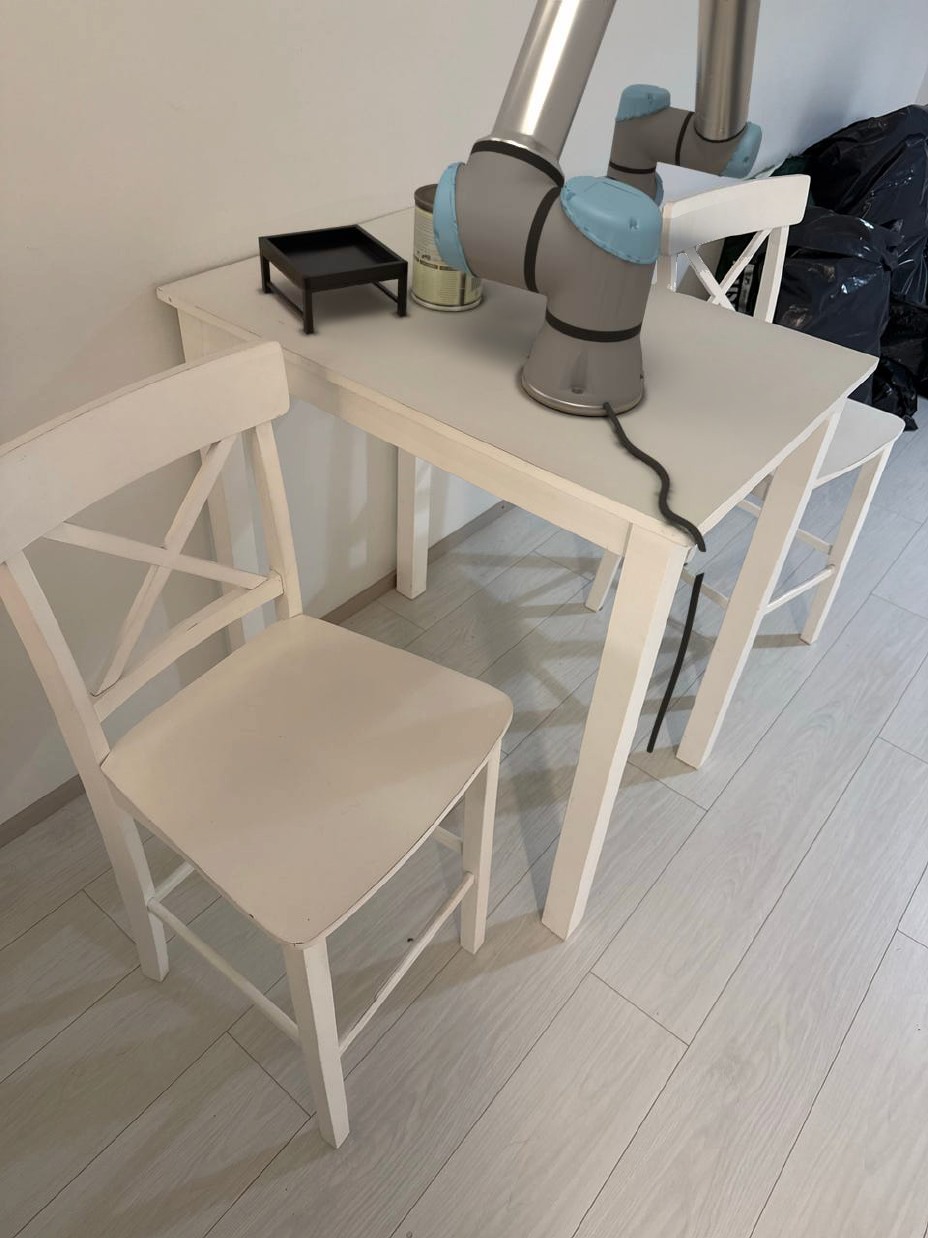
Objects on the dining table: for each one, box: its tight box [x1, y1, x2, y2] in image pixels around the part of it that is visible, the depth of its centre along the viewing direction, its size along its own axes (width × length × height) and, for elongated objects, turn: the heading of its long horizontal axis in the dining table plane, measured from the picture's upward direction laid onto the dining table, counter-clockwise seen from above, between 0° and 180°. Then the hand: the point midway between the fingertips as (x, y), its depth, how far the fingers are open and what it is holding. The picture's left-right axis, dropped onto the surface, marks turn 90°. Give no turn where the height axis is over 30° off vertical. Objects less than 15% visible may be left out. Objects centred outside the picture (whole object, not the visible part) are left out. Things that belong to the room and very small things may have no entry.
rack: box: [258, 223, 409, 335], centre depth 125 cm, size 15×15×8 cm
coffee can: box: [410, 183, 483, 312], centre depth 127 cm, size 10×10×14 cm
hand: (485, 231), depth 130 cm, fingers open, 13 cm apart
